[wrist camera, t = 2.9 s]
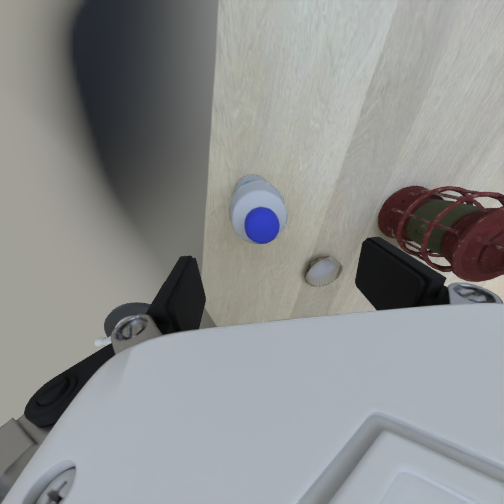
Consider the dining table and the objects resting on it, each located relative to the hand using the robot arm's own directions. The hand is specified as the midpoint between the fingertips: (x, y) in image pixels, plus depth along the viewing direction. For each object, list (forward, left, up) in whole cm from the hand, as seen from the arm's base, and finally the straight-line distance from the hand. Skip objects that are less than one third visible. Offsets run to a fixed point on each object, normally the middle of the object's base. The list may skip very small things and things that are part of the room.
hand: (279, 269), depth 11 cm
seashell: (+14, -18, -27) cm, 36 cm away
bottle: (0, 0, -27) cm, 27 cm away
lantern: (+30, -7, -27) cm, 41 cm away
